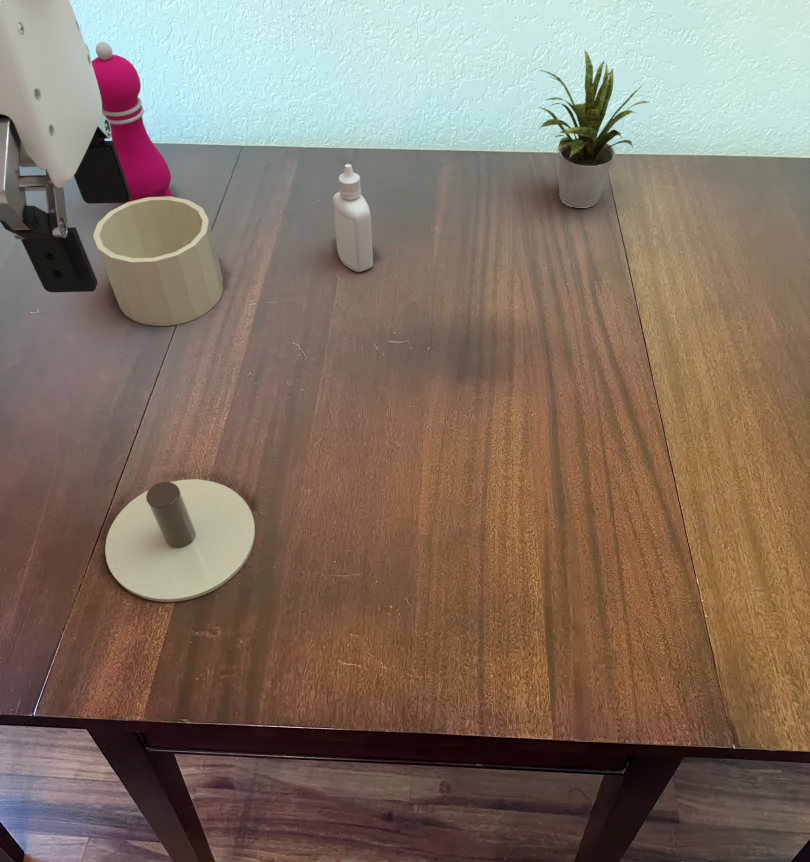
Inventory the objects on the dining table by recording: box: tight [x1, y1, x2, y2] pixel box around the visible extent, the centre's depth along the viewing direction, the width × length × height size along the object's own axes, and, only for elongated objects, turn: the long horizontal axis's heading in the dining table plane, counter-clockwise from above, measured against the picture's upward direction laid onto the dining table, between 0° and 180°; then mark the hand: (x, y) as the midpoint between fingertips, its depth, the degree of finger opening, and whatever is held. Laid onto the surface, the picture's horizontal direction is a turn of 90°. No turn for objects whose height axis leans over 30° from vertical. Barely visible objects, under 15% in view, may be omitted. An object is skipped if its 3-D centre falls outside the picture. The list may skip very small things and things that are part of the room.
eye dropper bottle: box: [332, 163, 374, 273], centre depth 91 cm, size 4×6×12 cm
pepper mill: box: [91, 41, 174, 204], centre depth 95 cm, size 7×7×20 cm
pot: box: [92, 196, 224, 327], centre depth 89 cm, size 12×12×8 cm
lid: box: [104, 478, 256, 603], centre depth 69 cm, size 13×13×7 cm
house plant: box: [537, 50, 651, 207], centre depth 97 cm, size 14×14×16 cm
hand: (91, 242), depth 51 cm, fingers open, 9 cm apart
